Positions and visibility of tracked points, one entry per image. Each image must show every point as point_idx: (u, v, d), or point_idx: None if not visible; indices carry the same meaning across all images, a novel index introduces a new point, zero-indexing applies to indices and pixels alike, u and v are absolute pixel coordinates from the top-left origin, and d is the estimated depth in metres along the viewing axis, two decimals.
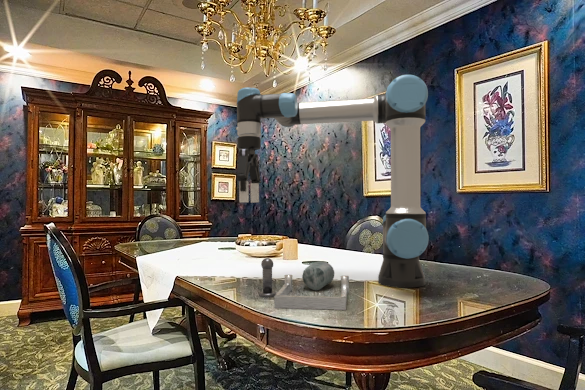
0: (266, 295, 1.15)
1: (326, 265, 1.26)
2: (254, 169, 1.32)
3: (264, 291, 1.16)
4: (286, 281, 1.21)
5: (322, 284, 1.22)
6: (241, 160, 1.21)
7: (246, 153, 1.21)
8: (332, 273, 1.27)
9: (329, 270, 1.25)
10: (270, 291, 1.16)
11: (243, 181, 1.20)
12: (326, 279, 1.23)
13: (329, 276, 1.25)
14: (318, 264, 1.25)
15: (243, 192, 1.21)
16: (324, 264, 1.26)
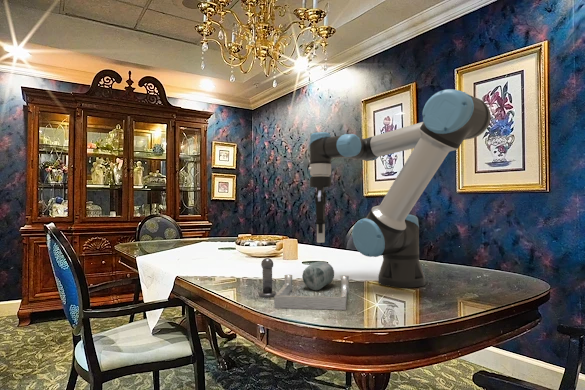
0: (266, 295, 1.15)
1: (326, 265, 1.26)
2: None
3: (264, 291, 1.16)
4: (286, 281, 1.21)
5: (322, 284, 1.22)
6: (318, 206, 1.37)
7: (322, 200, 1.36)
8: (332, 273, 1.27)
9: (329, 270, 1.25)
10: (270, 291, 1.16)
11: (321, 225, 1.39)
12: (326, 279, 1.23)
13: (329, 276, 1.25)
14: (318, 264, 1.25)
15: (320, 234, 1.40)
16: (324, 264, 1.26)
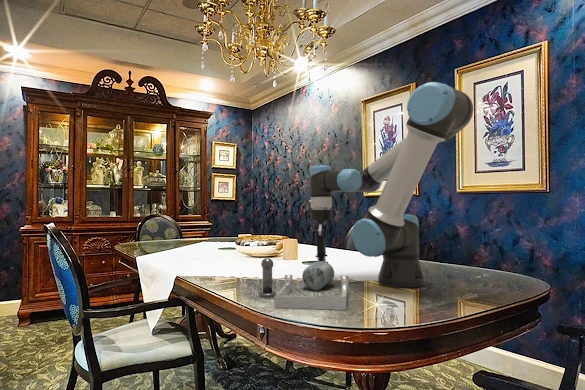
0: (266, 295, 1.15)
1: (326, 265, 1.26)
2: None
3: (264, 291, 1.16)
4: (286, 281, 1.21)
5: (322, 284, 1.22)
6: (318, 240, 1.36)
7: (322, 234, 1.35)
8: (332, 273, 1.27)
9: (329, 270, 1.25)
10: (270, 291, 1.16)
11: (322, 258, 1.39)
12: (326, 279, 1.23)
13: (329, 276, 1.25)
14: (318, 264, 1.25)
15: None
16: (324, 264, 1.26)
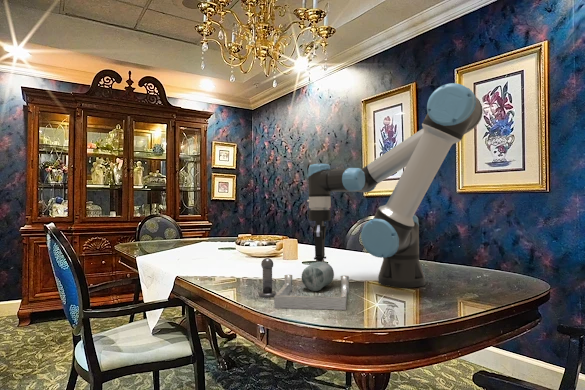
0: (266, 295, 1.15)
1: (325, 265, 1.25)
2: (322, 241, 1.36)
3: (264, 291, 1.16)
4: (286, 281, 1.21)
5: (321, 285, 1.20)
6: (317, 241, 1.31)
7: (320, 235, 1.30)
8: (332, 273, 1.25)
9: (328, 270, 1.23)
10: (270, 291, 1.16)
11: (320, 260, 1.33)
12: (325, 280, 1.22)
13: (328, 277, 1.23)
14: (317, 264, 1.23)
15: None
16: (323, 264, 1.25)
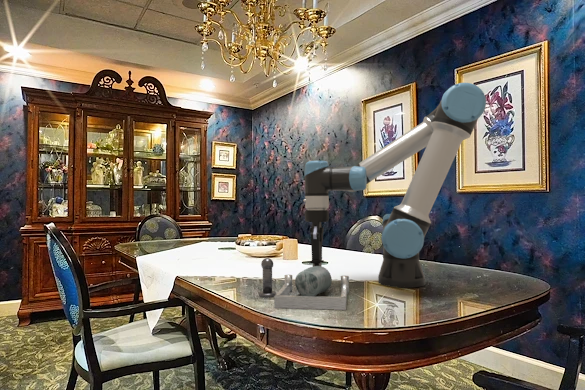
0: (266, 295, 1.15)
1: (321, 270, 1.15)
2: None
3: (264, 291, 1.16)
4: (286, 281, 1.21)
5: (315, 291, 1.11)
6: (313, 244, 1.21)
7: (317, 238, 1.20)
8: (328, 279, 1.16)
9: (324, 276, 1.14)
10: (270, 291, 1.16)
11: (317, 264, 1.24)
12: (320, 286, 1.12)
13: (324, 283, 1.14)
14: (312, 269, 1.14)
15: None
16: (319, 269, 1.15)
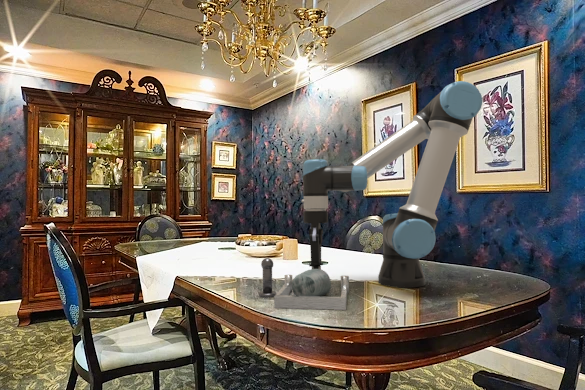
0: (266, 295, 1.15)
1: (319, 274, 1.10)
2: None
3: (264, 291, 1.16)
4: (286, 281, 1.21)
5: (312, 295, 1.07)
6: (313, 246, 1.16)
7: (317, 239, 1.16)
8: (327, 283, 1.11)
9: (322, 279, 1.09)
10: (270, 291, 1.16)
11: (316, 267, 1.19)
12: (317, 290, 1.07)
13: (322, 286, 1.09)
14: (309, 272, 1.10)
15: None
16: (317, 272, 1.11)
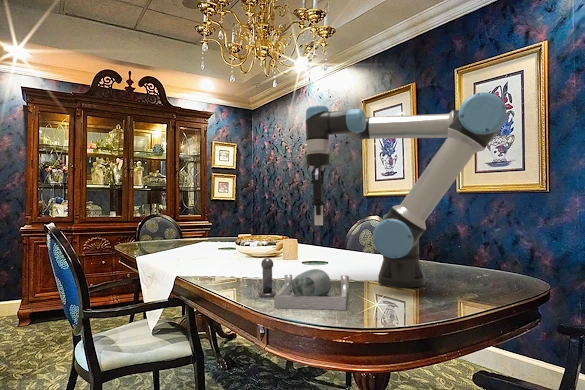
0: (266, 295, 1.15)
1: (319, 274, 1.10)
2: None
3: (264, 291, 1.16)
4: (286, 281, 1.21)
5: None
6: (315, 185, 1.26)
7: (319, 178, 1.25)
8: (327, 283, 1.11)
9: (322, 280, 1.09)
10: (270, 291, 1.16)
11: (319, 206, 1.28)
12: (317, 290, 1.07)
13: (322, 287, 1.09)
14: (309, 273, 1.09)
15: (318, 216, 1.29)
16: (317, 273, 1.10)
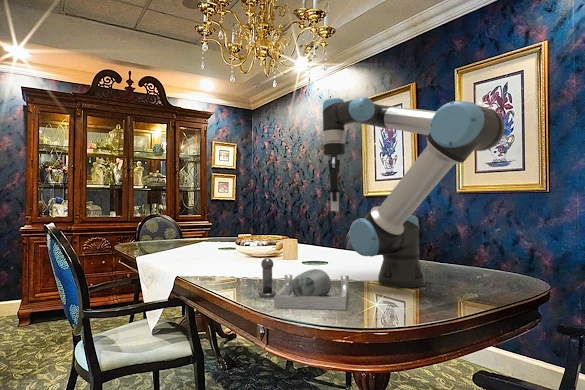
0: (266, 295, 1.15)
1: (319, 274, 1.10)
2: None
3: (264, 291, 1.16)
4: (286, 281, 1.21)
5: None
6: (332, 173, 1.34)
7: (336, 166, 1.33)
8: (327, 283, 1.11)
9: (322, 280, 1.09)
10: (270, 291, 1.16)
11: (335, 192, 1.37)
12: (317, 290, 1.07)
13: (322, 287, 1.09)
14: (309, 273, 1.09)
15: (334, 202, 1.38)
16: (317, 273, 1.10)
